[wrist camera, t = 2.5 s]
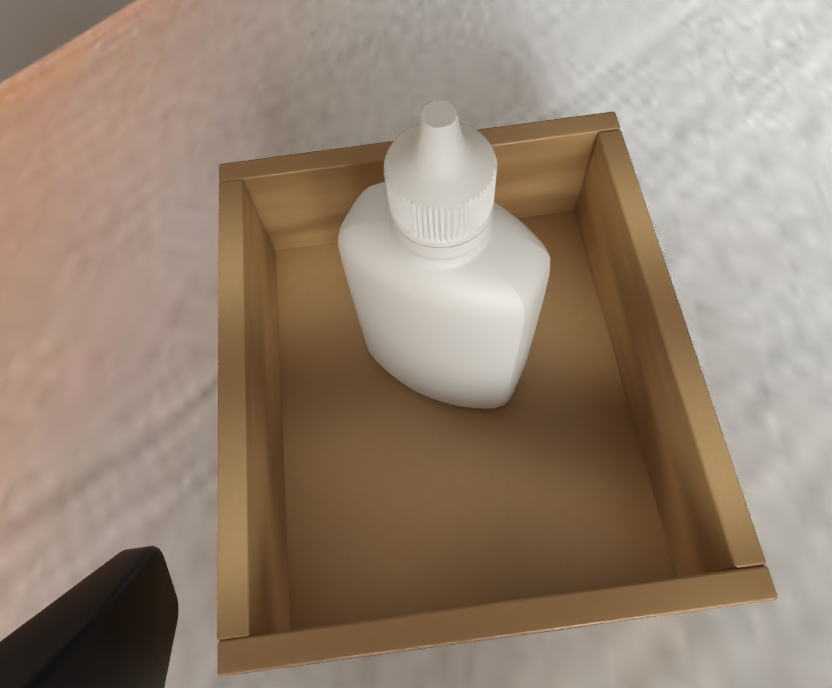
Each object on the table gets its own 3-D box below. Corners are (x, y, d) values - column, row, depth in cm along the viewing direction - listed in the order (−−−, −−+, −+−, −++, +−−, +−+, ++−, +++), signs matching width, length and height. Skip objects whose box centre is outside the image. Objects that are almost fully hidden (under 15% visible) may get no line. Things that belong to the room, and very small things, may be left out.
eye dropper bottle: (447, 272, 25) (444, -14, 14) (541, 382, 23) (625, 150, 12) (352, 333, 24) (268, 80, 13) (441, 453, 22) (431, 275, 11)
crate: (707, 606, 20) (780, 599, 15) (268, 667, 20) (216, 677, 15) (587, 197, 26) (615, 110, 22) (257, 241, 26) (218, 163, 22)
